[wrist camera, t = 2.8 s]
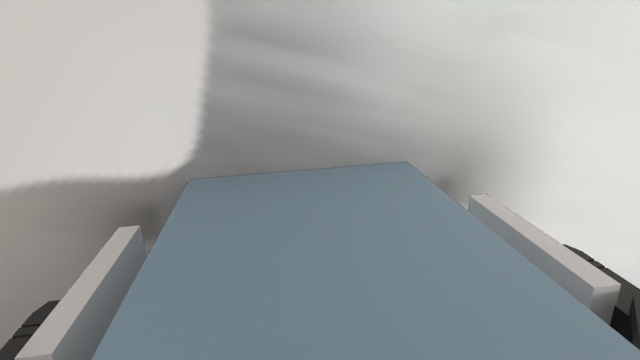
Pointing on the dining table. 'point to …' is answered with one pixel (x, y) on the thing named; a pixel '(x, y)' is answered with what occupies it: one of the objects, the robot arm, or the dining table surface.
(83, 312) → the robot arm
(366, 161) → the dining table surface
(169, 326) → the book box
